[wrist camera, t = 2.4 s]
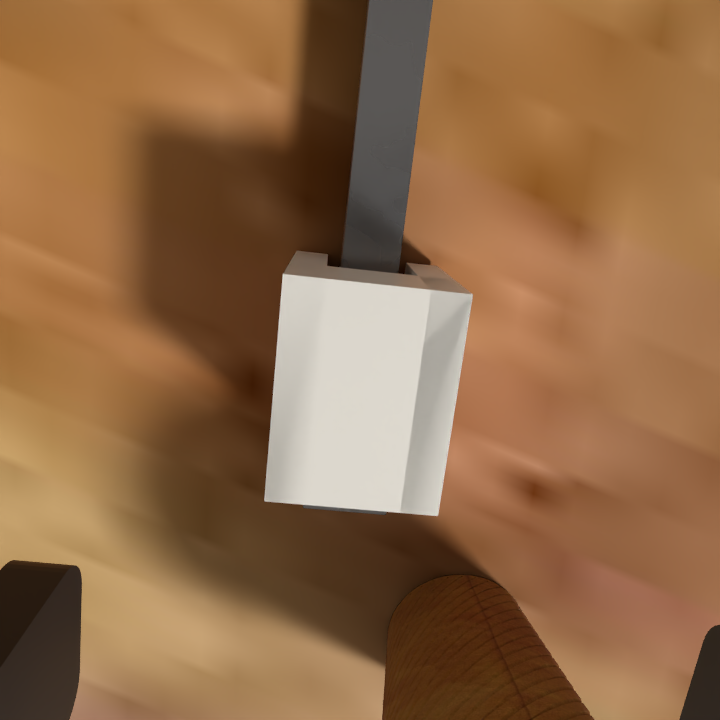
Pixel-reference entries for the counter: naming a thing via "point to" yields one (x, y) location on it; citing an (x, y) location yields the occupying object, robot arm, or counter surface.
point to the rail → (384, 138)
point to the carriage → (365, 386)
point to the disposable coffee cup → (471, 658)
